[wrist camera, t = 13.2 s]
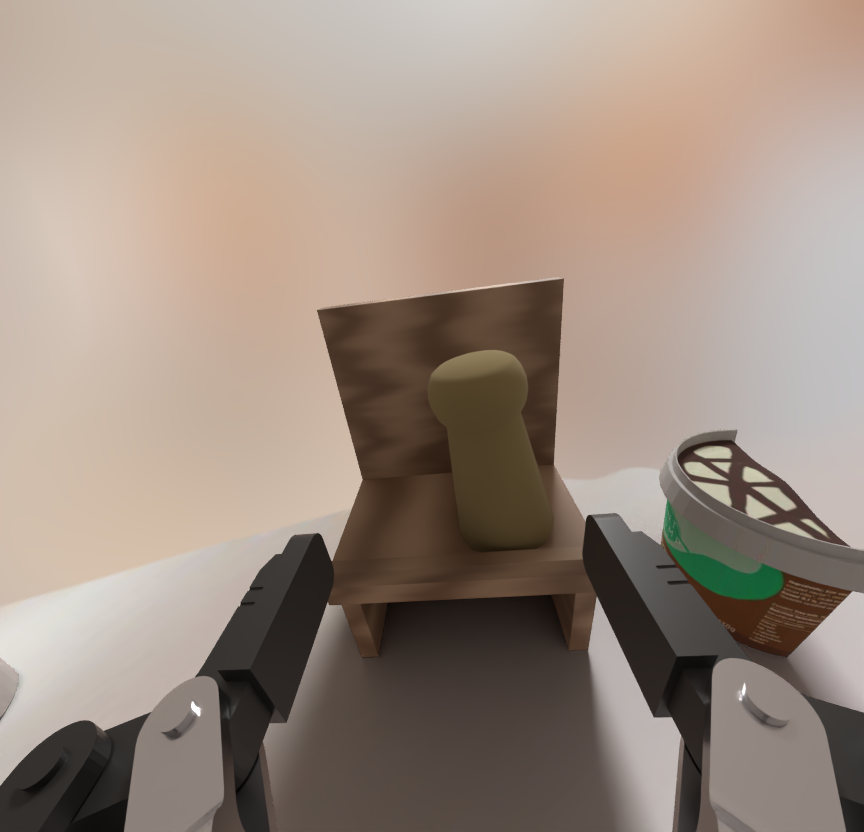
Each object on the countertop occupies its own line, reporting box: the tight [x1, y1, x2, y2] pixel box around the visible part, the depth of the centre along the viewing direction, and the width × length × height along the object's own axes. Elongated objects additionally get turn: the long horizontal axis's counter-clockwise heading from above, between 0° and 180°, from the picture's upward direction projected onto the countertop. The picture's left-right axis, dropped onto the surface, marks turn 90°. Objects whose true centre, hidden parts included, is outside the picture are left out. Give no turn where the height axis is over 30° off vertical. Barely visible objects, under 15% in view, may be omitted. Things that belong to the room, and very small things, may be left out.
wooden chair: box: [317, 277, 597, 657], centre depth 21 cm, size 16×12×22 cm
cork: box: [427, 350, 554, 552], centre depth 18 cm, size 6×6×11 cm
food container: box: [659, 430, 864, 657], centre depth 22 cm, size 12×6×10 cm, turn 165°
